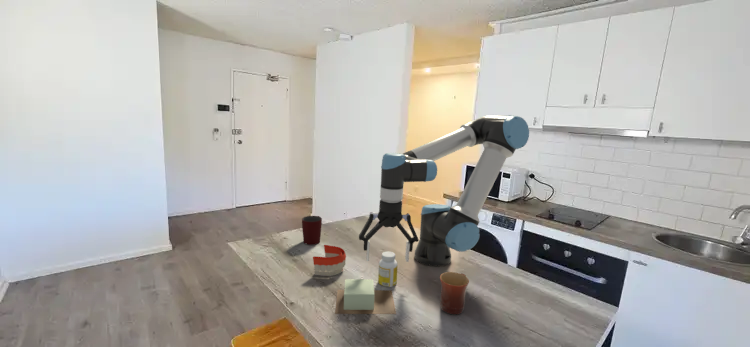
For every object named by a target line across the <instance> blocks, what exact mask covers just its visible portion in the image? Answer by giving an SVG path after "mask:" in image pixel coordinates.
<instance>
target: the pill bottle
mask: <svg viewBox="0 0 750 347" xmlns="http://www.w3.org/2000/svg"><path fill="white" fill-rule="evenodd" d="M377 276H378V278H377V279H378V280H377V283H378V284H379V285H380V286H381V287H386V288H391V287H394V286H396V285H397V283H398V282H397V281H398V262H397V260H396V253H395V252H393V251H382V253H381V259H380V260H379V262H378V275H377Z"/></svg>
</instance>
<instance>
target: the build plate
mask: <svg viewBox="0 0 750 347" xmlns="http://www.w3.org/2000/svg"><path fill="white" fill-rule="evenodd" d="M334 310H335V311H334V314H335V315H374V314H375V315H396V314H397V311H396V306H395V300H394V294H393V290H388V289H387V290H386V289H385V290H382V289H381V290H379V289H377V290H376V289H374V310H344V289H337V291H336V300H335V309H334Z"/></svg>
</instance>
